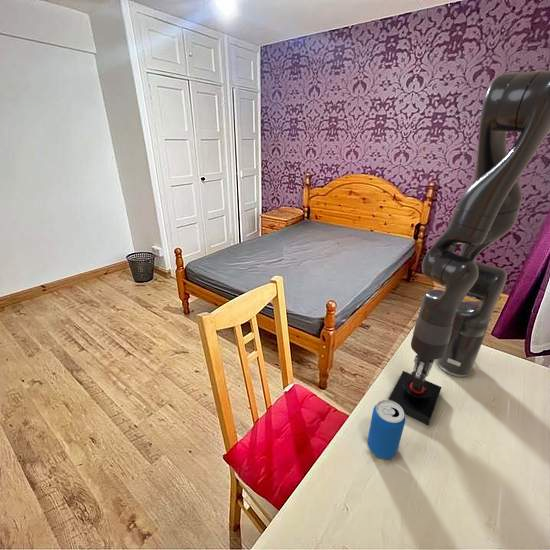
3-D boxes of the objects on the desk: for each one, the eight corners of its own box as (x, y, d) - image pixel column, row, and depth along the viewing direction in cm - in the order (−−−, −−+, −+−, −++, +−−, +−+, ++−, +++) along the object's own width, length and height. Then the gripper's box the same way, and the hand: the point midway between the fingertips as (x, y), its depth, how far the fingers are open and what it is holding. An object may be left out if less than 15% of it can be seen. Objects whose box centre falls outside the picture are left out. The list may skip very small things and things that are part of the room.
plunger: (406, 393, 79) (407, 388, 78) (410, 384, 82) (411, 379, 81) (421, 399, 77) (422, 394, 76) (424, 390, 80) (426, 385, 79)
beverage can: (398, 464, 66) (409, 426, 60) (367, 458, 67) (375, 421, 62) (394, 436, 71) (403, 400, 66) (366, 432, 73) (372, 395, 67)
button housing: (387, 405, 79) (389, 393, 77) (401, 377, 88) (404, 365, 86) (428, 426, 74) (432, 413, 72) (439, 394, 82) (443, 381, 80)
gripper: (443, 356, 64) (426, 413, 72) (454, 325, 73) (438, 379, 81) (406, 342, 68) (393, 398, 76) (421, 315, 77) (409, 367, 85)
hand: (417, 388), depth 78 cm, fingers closed
